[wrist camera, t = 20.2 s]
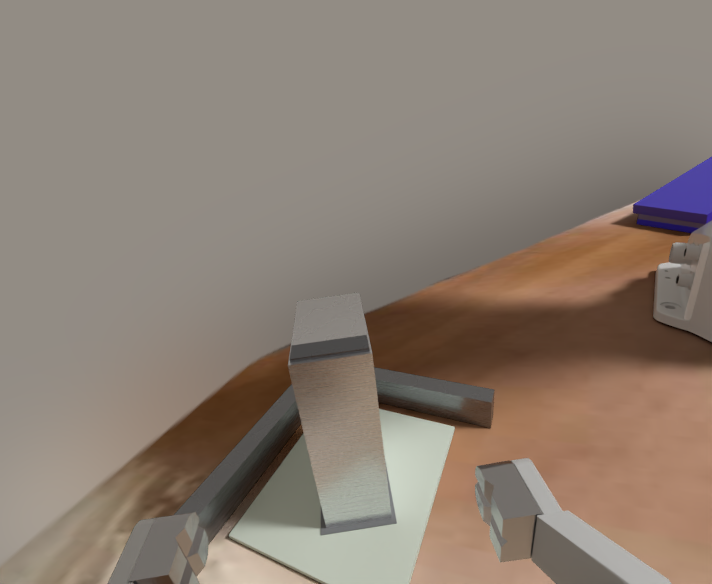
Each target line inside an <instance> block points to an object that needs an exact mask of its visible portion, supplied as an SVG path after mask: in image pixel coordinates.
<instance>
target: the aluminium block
mask: <svg viewBox="0 0 712 584" xmlns="http://www.w3.org/2000/svg"><path fill="white" fill-rule="evenodd" d="M288 368H289V372H290V377H291V381H292V385H293V389H294V393H295V398H296V402H297V406H298V410H299V415H300V419H301V423H302V427H303V432H304V436H305V440H306V444H307V449H308V453H309V457H310V461H311V465H312V470H313V474H314V478H315V482H316V487H317V491H318V495H319V499H320V504H321V508H322V512H323V516H324V520H325V525H326V528H332V527H339V526H345V525H351V524H358V523H364V522H371V521H377V520H383V519H390V518H392V515H391V507H390V498H389V490H388V481H387V473H386V465H385V456H384V448H383V439H382V431H381V422H380V414H379V405H378V397H377V388H376V380H375V372H374V363H373V355H372V349H371V345H370V340H369V335H368V331H367V326H366V321H365V317H364V312H363V308H362V303H361V298H360V294H359V292H358V293H351V294H344V295H337V296H330V297H323V298H316V299H309V300H301V301H297V307H296V314H295V322H294V328H293V335H292V341H291V348H290V355H289V362H288Z"/></svg>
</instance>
